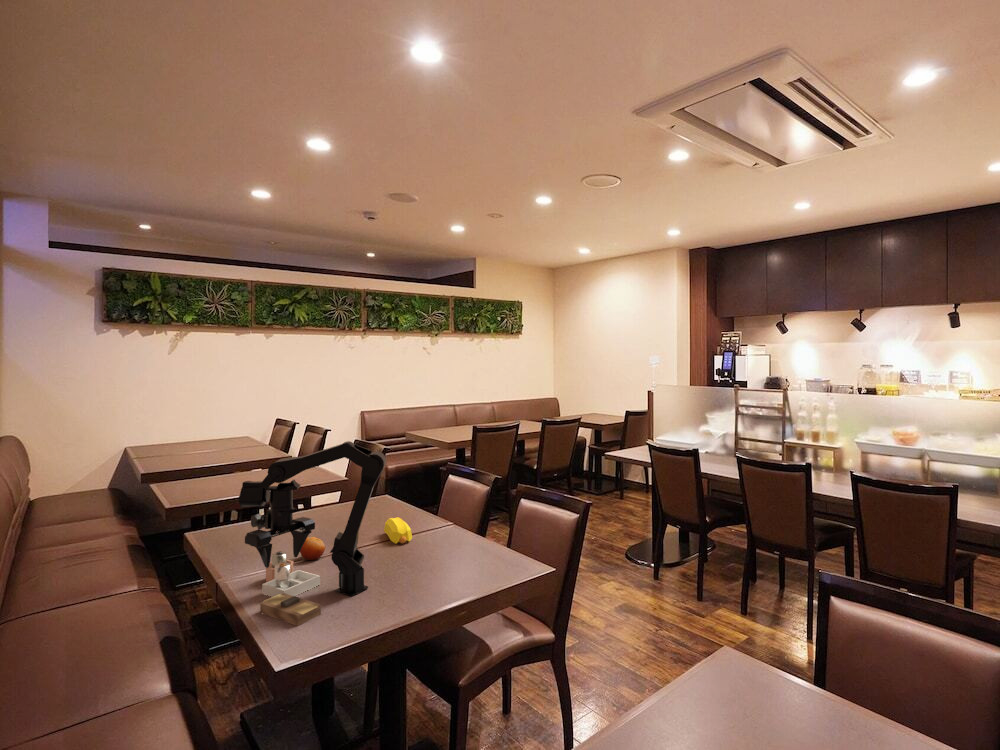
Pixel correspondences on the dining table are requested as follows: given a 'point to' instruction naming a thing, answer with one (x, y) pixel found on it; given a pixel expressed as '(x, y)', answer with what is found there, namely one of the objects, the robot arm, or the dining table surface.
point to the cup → (271, 571)
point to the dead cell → (279, 558)
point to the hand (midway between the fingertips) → (281, 562)
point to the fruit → (312, 549)
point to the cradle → (290, 609)
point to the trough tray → (293, 584)
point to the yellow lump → (397, 530)
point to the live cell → (282, 575)
